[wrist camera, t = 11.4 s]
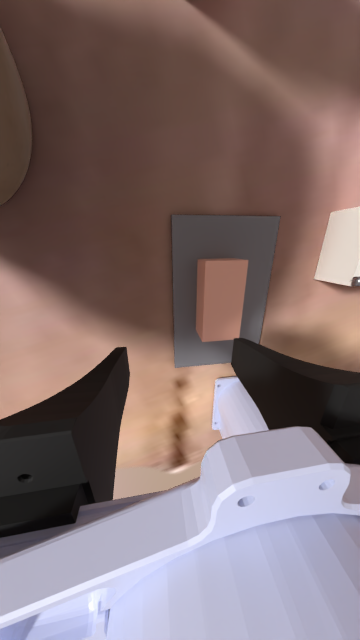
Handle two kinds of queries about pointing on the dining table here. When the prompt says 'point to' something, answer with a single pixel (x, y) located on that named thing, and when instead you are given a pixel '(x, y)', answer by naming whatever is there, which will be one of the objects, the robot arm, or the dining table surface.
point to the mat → (218, 243)
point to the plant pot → (12, 125)
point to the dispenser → (341, 249)
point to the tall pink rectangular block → (220, 298)
